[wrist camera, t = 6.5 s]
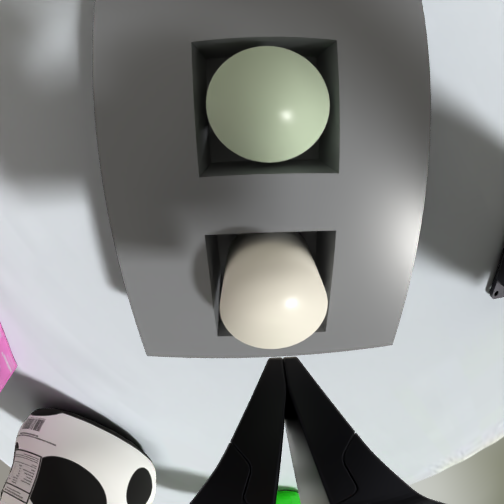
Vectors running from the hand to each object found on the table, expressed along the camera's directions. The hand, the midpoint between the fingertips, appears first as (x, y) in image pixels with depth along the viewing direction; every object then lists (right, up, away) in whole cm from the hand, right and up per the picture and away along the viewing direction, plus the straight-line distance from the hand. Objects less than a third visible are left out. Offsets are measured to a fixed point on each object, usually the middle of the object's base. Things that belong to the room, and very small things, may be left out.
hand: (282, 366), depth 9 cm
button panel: (0, +10, +4) cm, 11 cm away
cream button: (0, +3, +6) cm, 7 cm away
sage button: (0, +10, +4) cm, 11 cm away
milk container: (-20, -19, +19) cm, 34 cm away
